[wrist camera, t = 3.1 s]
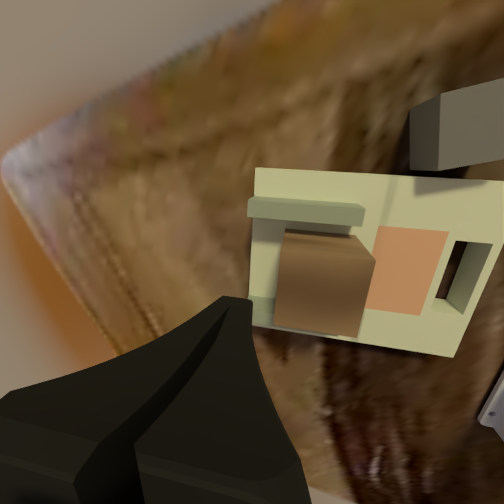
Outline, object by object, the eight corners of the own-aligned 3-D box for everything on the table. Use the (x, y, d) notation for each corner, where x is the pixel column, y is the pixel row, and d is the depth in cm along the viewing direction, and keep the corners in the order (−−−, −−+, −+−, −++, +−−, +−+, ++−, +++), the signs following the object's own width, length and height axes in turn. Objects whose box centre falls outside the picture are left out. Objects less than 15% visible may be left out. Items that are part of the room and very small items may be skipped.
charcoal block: (472, 157, 15) (522, 155, 11) (409, 169, 15) (438, 170, 12) (477, 93, 14) (533, 70, 10) (408, 110, 14) (440, 93, 11)
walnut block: (342, 295, 17) (356, 338, 13) (279, 287, 18) (273, 324, 13) (355, 235, 15) (376, 260, 11) (285, 228, 16) (280, 250, 12)
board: (438, 338, 19) (472, 381, 15) (251, 310, 21) (241, 341, 17) (500, 180, 15) (569, 186, 11) (260, 167, 17) (249, 167, 13)
